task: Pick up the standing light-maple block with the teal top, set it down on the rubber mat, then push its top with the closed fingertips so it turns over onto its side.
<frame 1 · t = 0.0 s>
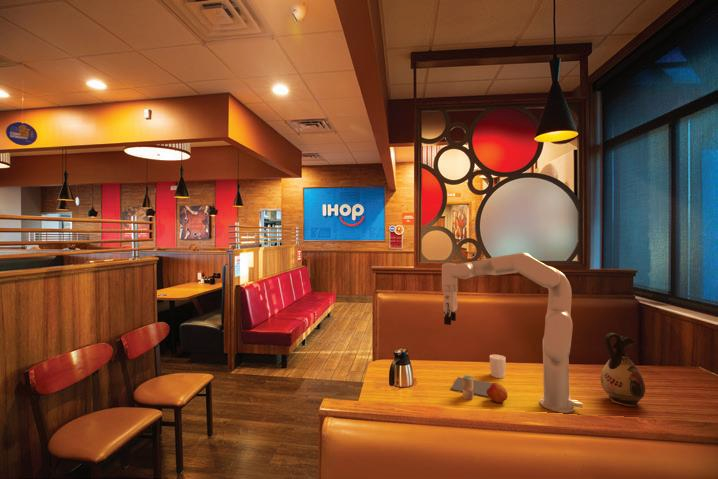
hand: (450, 322, 165), 31 cm above the table, fingers open, 9 cm apart
white cup: (497, 376, 176), on the table
fruit: (497, 401, 148), on the table
ceramic jug: (620, 402, 146), on the table
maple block: (468, 397, 152), on the table
rubber mat: (473, 387, 162), on the table
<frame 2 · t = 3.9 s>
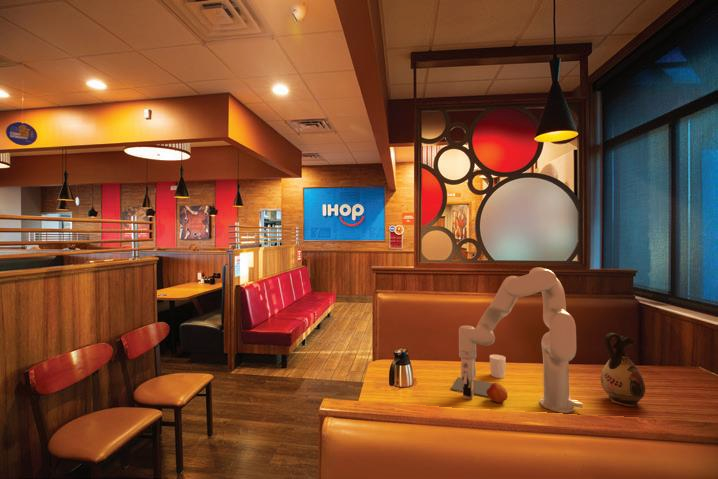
hand: (468, 393, 152), 2 cm above the table, fingers closed on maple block, 4 cm apart
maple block: (468, 397, 152), on the table, touching gripper
everything else where it was.
when the fingers open (3 cm above the table, at t = 8.8 s): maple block stays where it is, resting on rubber mat.
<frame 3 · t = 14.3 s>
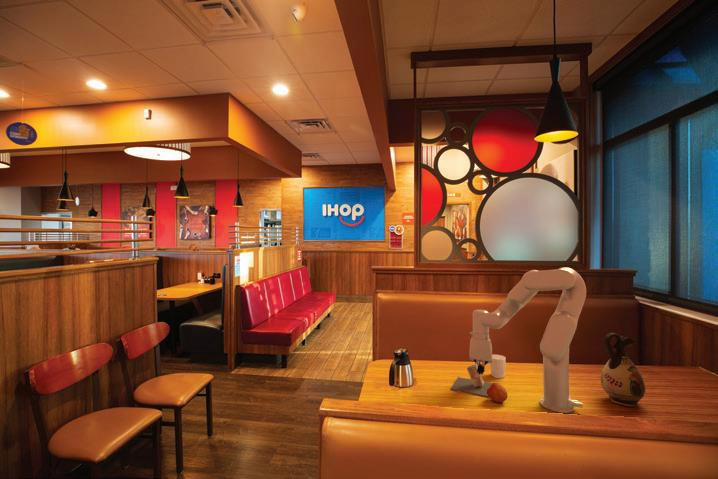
hand: (481, 373, 161), 7 cm above the table, fingers closed
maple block: (479, 384, 162), point 1 cm above the table, tilted 24°, touching rubber mat
everything else where it was.
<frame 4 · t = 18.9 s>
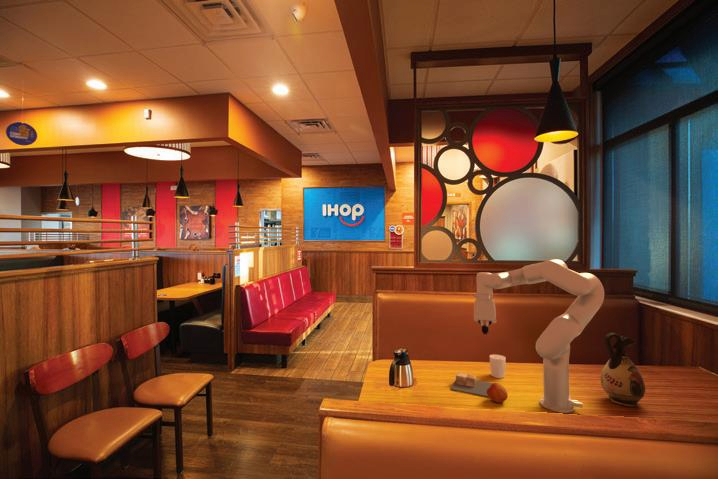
hand: (485, 333, 166), 25 cm above the table, fingers closed
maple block: (475, 381, 163), point 3 cm above the table, tilted 90°, touching rubber mat
everything else where it was.
at the end: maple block tilted 90°; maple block inside the target area on the rubber mat (1.9 cm from its centre), point 2.6 cm above the rubber mat's base; the gripper is holding nothing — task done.
